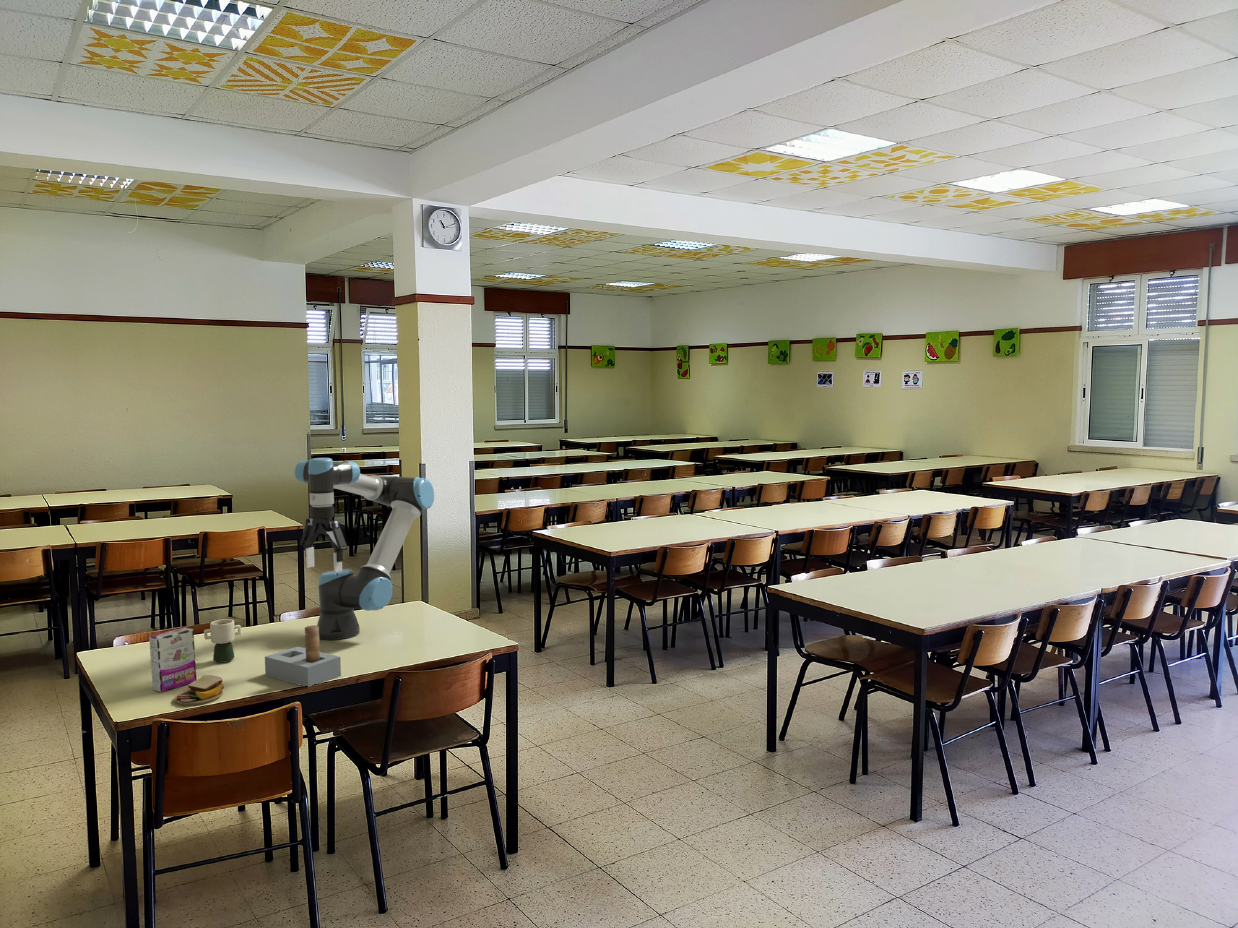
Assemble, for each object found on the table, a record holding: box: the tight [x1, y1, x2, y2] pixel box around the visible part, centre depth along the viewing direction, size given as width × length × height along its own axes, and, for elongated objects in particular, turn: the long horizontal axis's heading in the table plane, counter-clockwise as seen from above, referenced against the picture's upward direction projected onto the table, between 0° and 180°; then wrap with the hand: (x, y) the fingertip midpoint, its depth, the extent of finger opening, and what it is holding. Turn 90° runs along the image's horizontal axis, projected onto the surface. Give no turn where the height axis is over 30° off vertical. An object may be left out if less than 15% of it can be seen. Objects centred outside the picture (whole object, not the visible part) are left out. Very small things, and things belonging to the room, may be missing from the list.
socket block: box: [264, 646, 342, 688], centre depth 263 cm, size 20×12×6 cm, turn 58°
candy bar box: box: [148, 626, 198, 694], centre depth 253 cm, size 11×5×16 cm, turn 148°
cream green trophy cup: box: [203, 618, 242, 663], centre depth 277 cm, size 11×7×13 cm, turn 122°
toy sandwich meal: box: [173, 674, 225, 706], centre depth 245 cm, size 12×14×5 cm
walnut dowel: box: [304, 624, 321, 663], centre depth 259 cm, size 4×4×14 cm
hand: (324, 569), depth 282 cm, fingers open, 13 cm apart
